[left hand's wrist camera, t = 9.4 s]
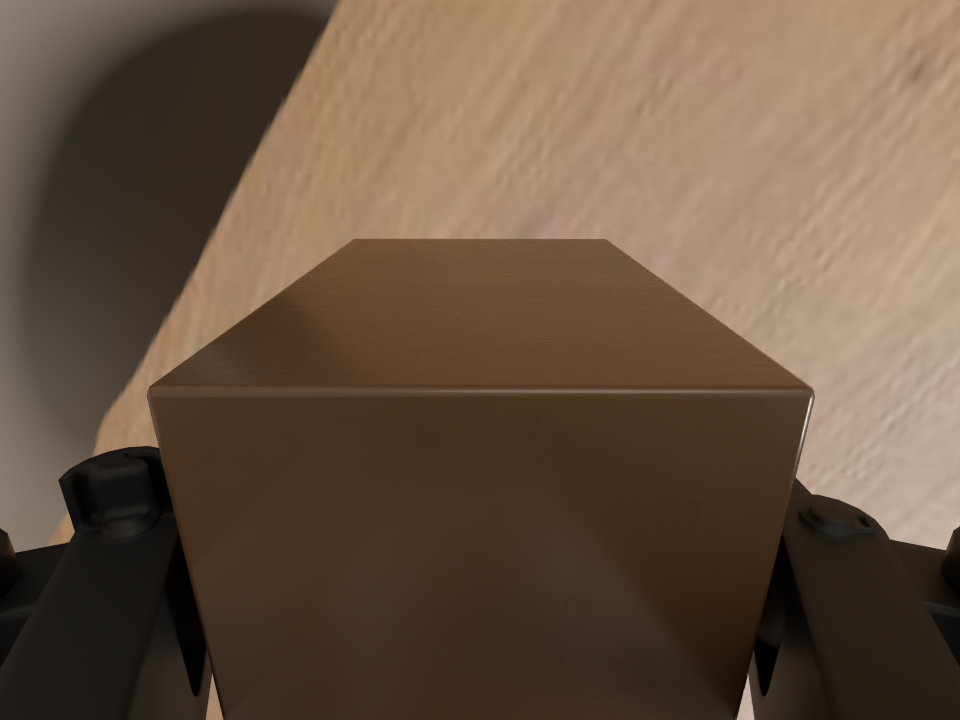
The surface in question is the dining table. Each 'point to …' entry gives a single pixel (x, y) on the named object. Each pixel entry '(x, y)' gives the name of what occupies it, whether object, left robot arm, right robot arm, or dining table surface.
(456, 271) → the box
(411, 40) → the dining table surface
